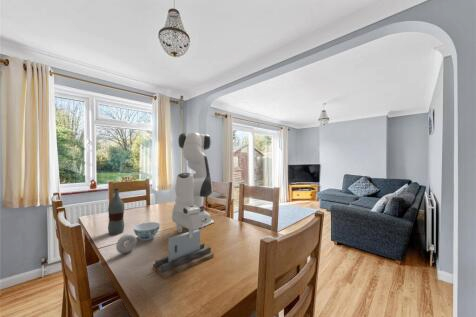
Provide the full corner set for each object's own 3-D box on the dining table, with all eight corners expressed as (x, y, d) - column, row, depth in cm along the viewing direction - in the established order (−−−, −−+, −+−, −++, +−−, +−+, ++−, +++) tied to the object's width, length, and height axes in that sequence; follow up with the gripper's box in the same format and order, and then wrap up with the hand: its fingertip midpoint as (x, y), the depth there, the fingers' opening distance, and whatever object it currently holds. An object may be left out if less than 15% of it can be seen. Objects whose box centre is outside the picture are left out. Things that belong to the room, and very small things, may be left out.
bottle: (123, 229, 138) (124, 187, 138) (124, 233, 131) (124, 188, 131) (108, 232, 133) (108, 188, 133) (107, 236, 126) (108, 189, 126)
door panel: (197, 252, 102) (197, 229, 102) (200, 254, 100) (200, 230, 100) (168, 263, 91) (168, 238, 91) (171, 266, 88) (171, 239, 88)
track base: (200, 248, 109) (200, 241, 109) (213, 256, 100) (213, 248, 101) (152, 267, 90) (152, 258, 90) (164, 278, 82) (164, 269, 82)
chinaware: (149, 244, 114) (149, 231, 114) (127, 242, 117) (127, 229, 117) (164, 234, 129) (164, 223, 129) (144, 232, 132) (144, 221, 132)
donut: (117, 257, 99) (117, 237, 99) (115, 255, 101) (115, 236, 101) (137, 250, 107) (137, 232, 107) (134, 248, 109) (135, 230, 109)
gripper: (168, 203, 100) (168, 230, 101) (190, 212, 86) (190, 243, 86) (180, 201, 105) (179, 227, 105) (202, 209, 91) (202, 238, 91)
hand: (184, 234), depth 96 cm, fingers open, 8 cm apart
